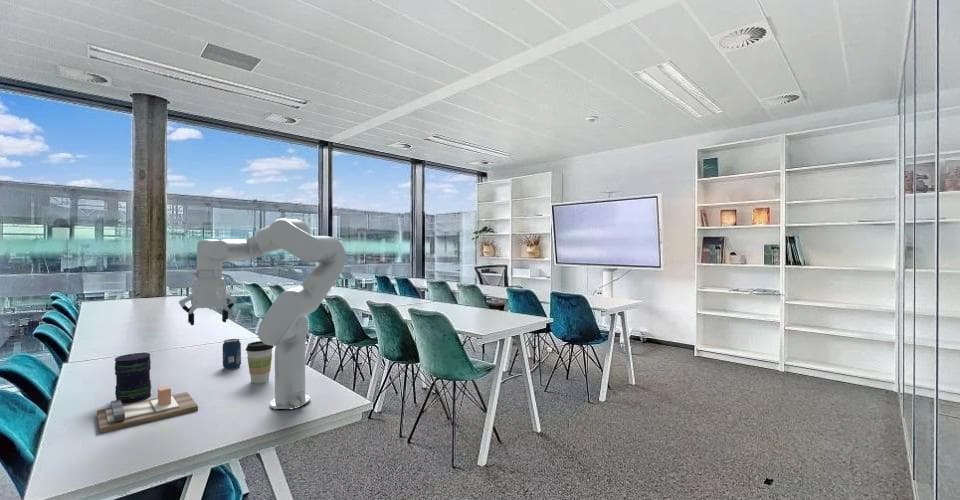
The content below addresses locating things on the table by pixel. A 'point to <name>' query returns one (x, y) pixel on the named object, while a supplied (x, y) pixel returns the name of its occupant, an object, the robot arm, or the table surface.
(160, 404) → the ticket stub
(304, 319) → the robot arm
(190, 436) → the table surface
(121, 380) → the storage jar
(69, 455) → the table surface
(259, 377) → the coffee cup
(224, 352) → the soda can
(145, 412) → the board
